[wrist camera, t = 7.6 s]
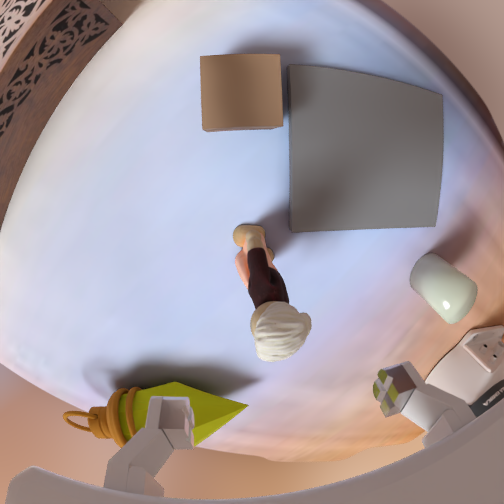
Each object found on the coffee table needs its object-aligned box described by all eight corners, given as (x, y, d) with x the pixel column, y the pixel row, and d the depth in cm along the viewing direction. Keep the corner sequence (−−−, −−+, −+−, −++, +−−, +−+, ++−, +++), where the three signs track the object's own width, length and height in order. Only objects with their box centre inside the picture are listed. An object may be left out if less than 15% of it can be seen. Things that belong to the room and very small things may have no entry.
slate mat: (436, 95, 20) (442, 94, 19) (429, 223, 25) (435, 226, 24) (286, 67, 18) (289, 64, 17) (289, 228, 24) (291, 232, 23)
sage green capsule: (444, 251, 27) (482, 278, 20) (435, 288, 29) (468, 318, 22) (414, 254, 26) (454, 284, 20) (405, 293, 28) (439, 328, 22)
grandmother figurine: (213, 227, 23) (204, 317, 12) (253, 204, 23) (284, 276, 11) (257, 294, 26) (280, 402, 14) (293, 274, 26) (340, 375, 14)
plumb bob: (236, 355, 30) (53, 378, 26) (256, 427, 22) (45, 439, 19) (243, 388, 35) (86, 407, 31) (260, 446, 28) (85, 459, 24)
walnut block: (268, 71, 19) (279, 54, 14) (270, 129, 21) (283, 126, 16) (205, 74, 18) (200, 56, 14) (207, 132, 20) (202, 129, 16)
